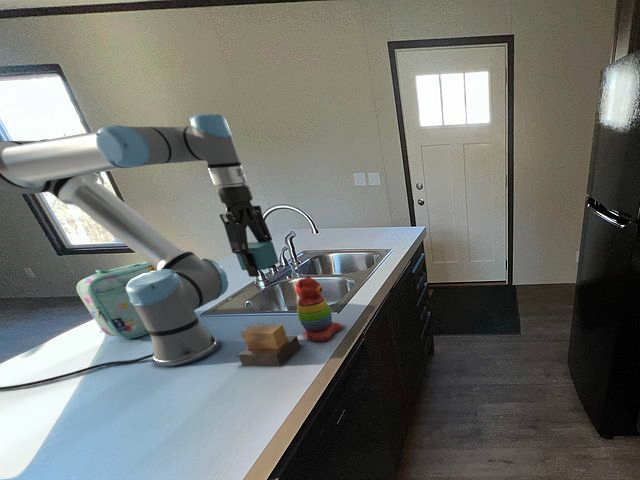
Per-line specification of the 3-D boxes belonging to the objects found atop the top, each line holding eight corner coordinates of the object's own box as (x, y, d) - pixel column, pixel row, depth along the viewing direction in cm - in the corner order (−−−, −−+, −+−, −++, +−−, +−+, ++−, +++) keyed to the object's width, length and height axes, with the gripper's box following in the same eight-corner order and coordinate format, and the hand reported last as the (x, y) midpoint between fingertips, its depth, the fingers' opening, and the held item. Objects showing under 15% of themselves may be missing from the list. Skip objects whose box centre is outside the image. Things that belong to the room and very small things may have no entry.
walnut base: (242, 365, 103) (237, 354, 101) (265, 346, 112) (261, 335, 111) (280, 366, 102) (276, 354, 100) (300, 346, 111) (297, 335, 109)
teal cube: (242, 270, 106) (233, 248, 103) (257, 262, 112) (249, 242, 109) (264, 269, 105) (257, 248, 102) (279, 262, 111) (272, 241, 108)
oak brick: (248, 349, 104) (241, 333, 101) (258, 340, 108) (252, 324, 105) (278, 349, 103) (272, 333, 100) (288, 340, 107) (282, 324, 104)
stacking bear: (326, 342, 113) (310, 285, 104) (296, 340, 115) (278, 284, 106) (344, 326, 122) (331, 272, 113) (316, 325, 124) (301, 272, 115)
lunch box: (120, 346, 117) (79, 280, 106) (101, 342, 120) (59, 277, 109) (202, 312, 138) (175, 254, 127) (184, 309, 141) (156, 252, 130)
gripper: (218, 189, 89) (253, 283, 100) (268, 180, 106) (293, 261, 117) (189, 191, 90) (227, 283, 101) (243, 181, 107) (270, 262, 118)
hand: (262, 271), depth 109 cm, fingers closed on teal cube, 7 cm apart
